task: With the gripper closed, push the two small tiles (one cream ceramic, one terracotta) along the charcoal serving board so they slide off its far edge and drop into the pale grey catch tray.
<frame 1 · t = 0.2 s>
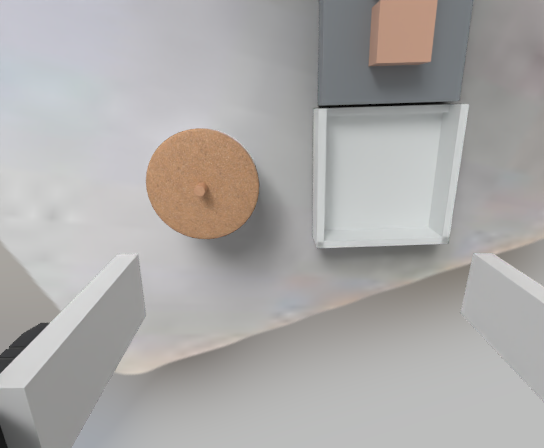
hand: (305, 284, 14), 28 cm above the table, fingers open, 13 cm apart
lidded jar: (214, 172, 40), on the table
catch tray: (376, 173, 40), on the table
board: (386, 26, 35), on the table
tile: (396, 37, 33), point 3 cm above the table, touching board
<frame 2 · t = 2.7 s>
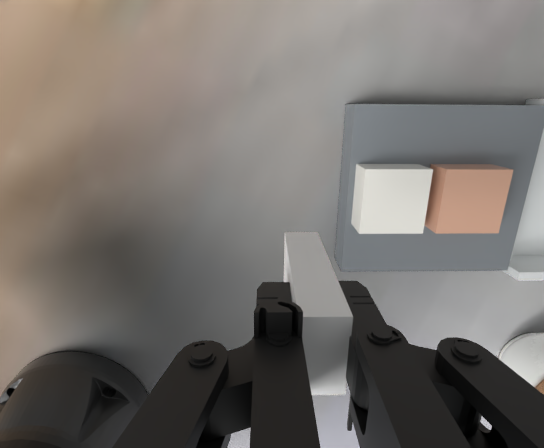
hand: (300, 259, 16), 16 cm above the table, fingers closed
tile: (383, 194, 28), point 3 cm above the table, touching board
lidded jar: (524, 354, 38), on the table
board: (421, 186, 31), on the table
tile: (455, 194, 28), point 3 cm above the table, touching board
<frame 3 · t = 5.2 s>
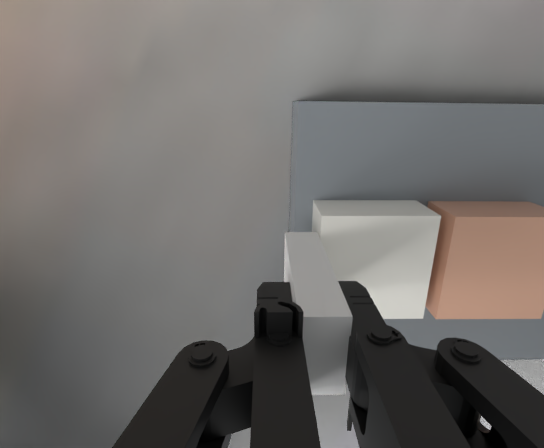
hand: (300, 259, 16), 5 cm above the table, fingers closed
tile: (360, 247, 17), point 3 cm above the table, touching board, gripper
board: (415, 228, 20), on the table
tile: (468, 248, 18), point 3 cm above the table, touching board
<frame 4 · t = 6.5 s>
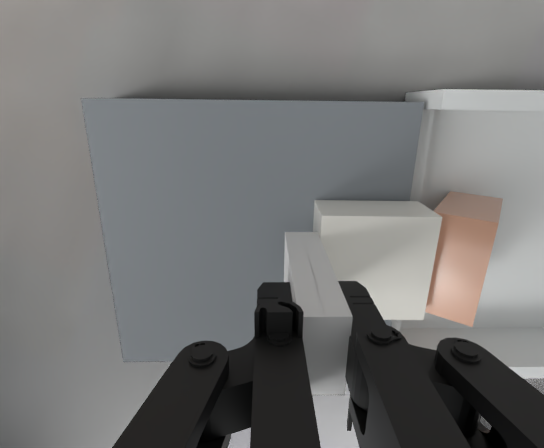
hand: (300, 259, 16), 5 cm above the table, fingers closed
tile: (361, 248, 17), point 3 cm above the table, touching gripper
catch tray: (512, 228, 21), on the table
board: (256, 227, 20), on the table
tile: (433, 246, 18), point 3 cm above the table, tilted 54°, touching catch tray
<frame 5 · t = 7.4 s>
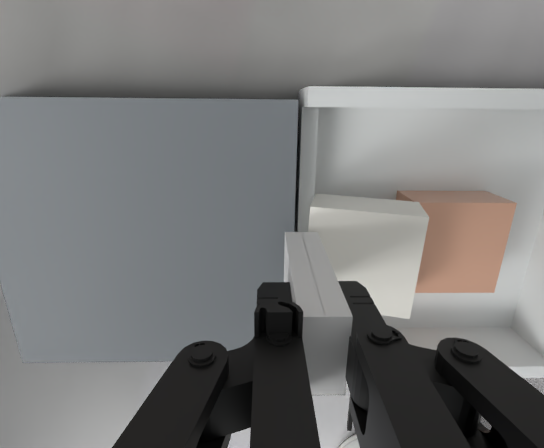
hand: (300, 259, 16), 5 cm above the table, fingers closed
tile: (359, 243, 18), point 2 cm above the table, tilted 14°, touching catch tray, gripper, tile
catch tray: (420, 227, 20), on the table
board: (160, 227, 20), on the table
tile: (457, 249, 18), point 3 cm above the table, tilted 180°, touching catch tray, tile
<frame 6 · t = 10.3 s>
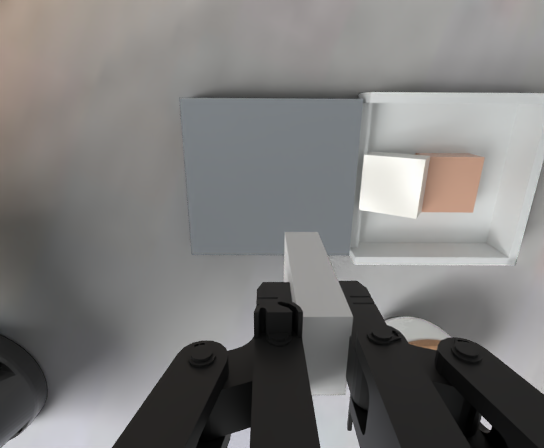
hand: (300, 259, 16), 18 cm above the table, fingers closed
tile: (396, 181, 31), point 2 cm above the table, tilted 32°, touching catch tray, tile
lidded jar: (395, 338, 40), on the table
catch tray: (429, 176, 33), on the table
board: (271, 175, 33), on the table
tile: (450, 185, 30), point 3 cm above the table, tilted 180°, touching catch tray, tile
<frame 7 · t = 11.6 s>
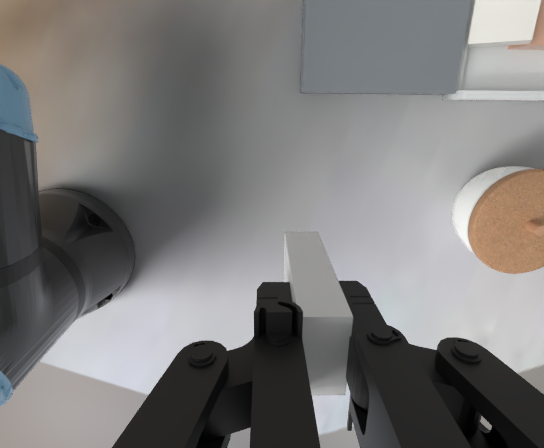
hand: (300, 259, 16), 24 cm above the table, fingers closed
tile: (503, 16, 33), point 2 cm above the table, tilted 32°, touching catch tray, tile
lidded jar: (480, 203, 41), on the table
catch tray: (529, 21, 34), on the table
board: (377, 18, 34), on the table
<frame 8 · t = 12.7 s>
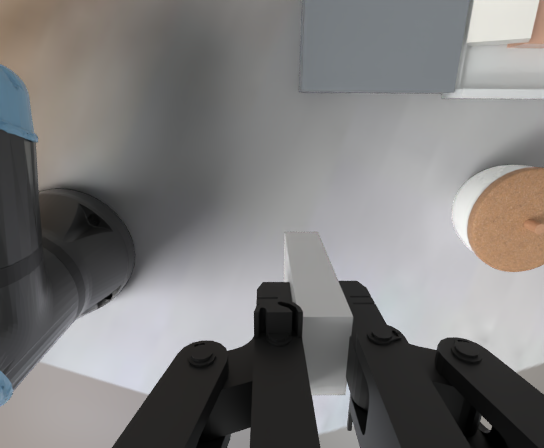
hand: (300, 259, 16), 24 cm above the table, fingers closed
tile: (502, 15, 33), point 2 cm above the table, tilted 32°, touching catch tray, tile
lidded jar: (479, 201, 41), on the table
catch tray: (527, 19, 34), on the table
board: (376, 17, 34), on the table
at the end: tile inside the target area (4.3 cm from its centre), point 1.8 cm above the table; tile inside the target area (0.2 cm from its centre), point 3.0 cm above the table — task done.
